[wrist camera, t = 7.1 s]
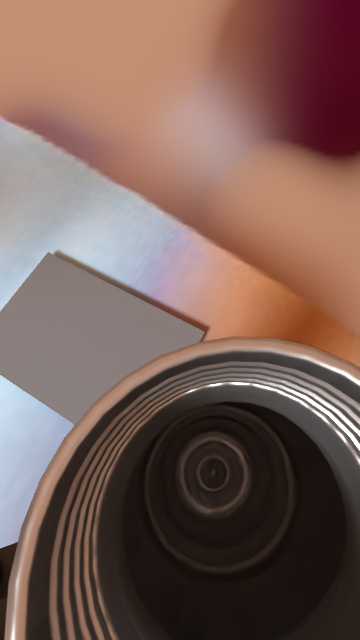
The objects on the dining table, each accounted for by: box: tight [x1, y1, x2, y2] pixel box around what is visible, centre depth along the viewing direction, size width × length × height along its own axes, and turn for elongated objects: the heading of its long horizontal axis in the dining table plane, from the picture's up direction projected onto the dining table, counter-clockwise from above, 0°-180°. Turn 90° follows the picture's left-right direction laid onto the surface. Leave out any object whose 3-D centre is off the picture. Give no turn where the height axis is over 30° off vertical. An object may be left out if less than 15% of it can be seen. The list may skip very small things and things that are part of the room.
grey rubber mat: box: [0, 252, 205, 425], centre depth 30 cm, size 18×12×1 cm, turn 60°
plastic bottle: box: [4, 337, 360, 640], centre depth 12 cm, size 6×7×20 cm
